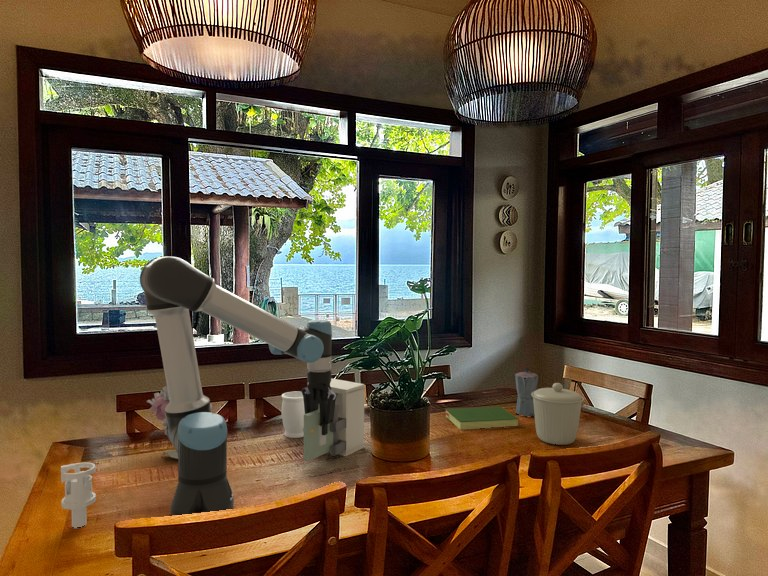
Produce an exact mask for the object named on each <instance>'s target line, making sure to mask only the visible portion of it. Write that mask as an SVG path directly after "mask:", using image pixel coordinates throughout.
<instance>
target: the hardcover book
mask: <svg viewBox="0 0 768 576" xmlns="http://www.w3.org/2000/svg"><path fill="white" fill-rule="evenodd" d="M444 417H446V419H448V420H449V421H450V422H452V424H454V425H455V427H456V428H457V429H459V430H465V431H466V430H480V428H485V429H492V428H491V427H503V426H504V428H506V427H505V426H518V427H519V418H518V417H517V416H515V415H514V414H512V413H510V412H509V411H508V410H506V409H504V408H503V407H502V406H500V405H487V406H465V407H464V406H463V407H446V408H444Z"/></svg>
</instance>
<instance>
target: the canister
mask: <svg viewBox="0 0 768 576" xmlns="http://www.w3.org/2000/svg"><path fill="white" fill-rule="evenodd" d="M531 395H532V397H533V402H534V415H535V416H534V424H535V425H534V426H535V431H536V434H537V438H539V440H540V441H542V442H544V443H547V444H551V445H555V444H556V445H557V446H560V445H561V446H566V445H570V444H572V443H574V442H575V441H576V439H577V435H578V429H579V423H580V417H581V410H582V403H583V402H584V400H585V398H584V397H583V396H582V395H581V394H580V393H578V392H576V391H574V390H571V389H566V388H564V387H563V384H562V383H560V382H554V383H553V384H552V387H541V388H538V389H536V391H534V392H532V393H531Z"/></svg>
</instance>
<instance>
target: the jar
mask: <svg viewBox="0 0 768 576" xmlns="http://www.w3.org/2000/svg"><path fill="white" fill-rule="evenodd" d="M281 398H282V401H281V402H282V403H281V419H282V426H283V428H284V430H285V431H284V434H283V435H284V436H285V437H286V438H289V439H299V438H304V432H303V427H304V414H305V409H304V399H303V394H302V391H301V390H300V391H299V390H298V391H295V390H294V391H287V392H284V393H282V394H281Z"/></svg>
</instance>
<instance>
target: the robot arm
mask: <svg viewBox="0 0 768 576" xmlns="http://www.w3.org/2000/svg"><path fill="white" fill-rule="evenodd" d="M139 283H140V286H141V289H142V291H143V293H144V299H145V305H146V310H147V312H149V314H151V315H153V317H154V319H155V325H156V331H157V336H158V342H159V348H160V353H161V358H162V359H161V361H162V366H163V372H164V378H165V382H166V387H167V389H168V394H169V400H170V402H169V404H168V405H167V406H166V408H165V416H166V419H167V425H166V426H165V429H166V431H167V435H166V436H167V438H168V440H169V442H170V443H171V444H172V445H173V447H174V450H176V451H177V453H178V459H177V470H178V471H177V477H178V478H177V480H178V482H177V485H176V488H175V492H174V494H173V498H172V501H171V504H170V515H182V514H192V513H201V512H210V511H219V510H226V509H232V510H233V509H234V506H235V505H234V504H235V502H234V501H235V500H234V499H235V498H234V493H233V490H232V488H231V485H230V482H229V480H228V476H227V473H228V470H227V464H228V463H227V462H228V461H227V460H228V459H227V458H228V457H227V456H228V448H227V446H228V442H227V441H228V440H227V439H228V428H227V422H226V420H225V418H224V417H223V416H222V415H220V414H218V413H214V412H213V411H212V412H211V406H210V404H211V400H210V398H209V397H208V396H207V395H204V393H203V389H202V382H201V375H200V370H199V364H198V358H197V352H196V346H195V340H194V334H193V329H192V321H191V316H190V312H193V313H198V312H202V313H204V314H207V315H209V316H211V317H213V318H214V319H217V320H218V321H221V322H223V323H225V324H227V325H229V326H231V327H233V328H234V329H237V330H239V331H241V332H243V333H245V334H247V335H249V336H251V337H253V338H256V340H257V339H258V340H259V341H262V342H264V343H266V344H268V349H269V351H270V353H271V354H273V355H281V356H282V355H289V356H291V357H293V358H296V359H298V360H299V361H301V362H304V363H306V366H307V367H306V369H307V371H306V380H307V381H306V382H307V383H309V384H308V387H307V386H306V387H303V388H301V390H300V391H302V394H303V399H304V409H305V414H307V413H310V412H313V411H316V410H318V408H319V407H320V421H321V424H319V446H322V445H324V444H326V435H327V433H328V424H330V423H332V422H333V418H334V410H335V401H336V398H337V396H338V394H337V393H334V392H333V391H331V387H330V382H331V378H332V370H331V369H332V345H333V344H332V339H333V338H332V337H333V329H332V328H333V327H332V323H331V321H329V320H327V319H313V320H312V319H310V320H308V321H307V324H306V326H305V327H297V326H295V325H293V324H292V323H289V322H287V321H286V320H284V319H282V318H280V317H278V316H276V315H274V313H273V314H272V313H270V312H268V311H267V310H265V309H263V308H261V307H259V306H257V305H256V304H253V303H251V302H250V301H248V300H246V299H244V298H242V297H240V296H238V295H236V294H234V293H232V292H231V291H229V290H227V289H225V288H224V287H221V286H219V285H218V284H216V281H215V278H213V277H211V276H209V275H208V274H205V273H204V272H203V271H201V270H200V269H198V268H197V267H195V266H194V265H192V264H190V263H189V262H188V261H187V260H184V259H182V258H181V257H177V256H168V255H167V256H163V255H162V256H159V257H154V258H153V259H150V260H149V261H147V263H146V264H145V265H144V266H143V267H142V269H141V271H140V275H139ZM329 362H331V363H329ZM328 395H329V396H328ZM233 505H234V506H233Z"/></svg>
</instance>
